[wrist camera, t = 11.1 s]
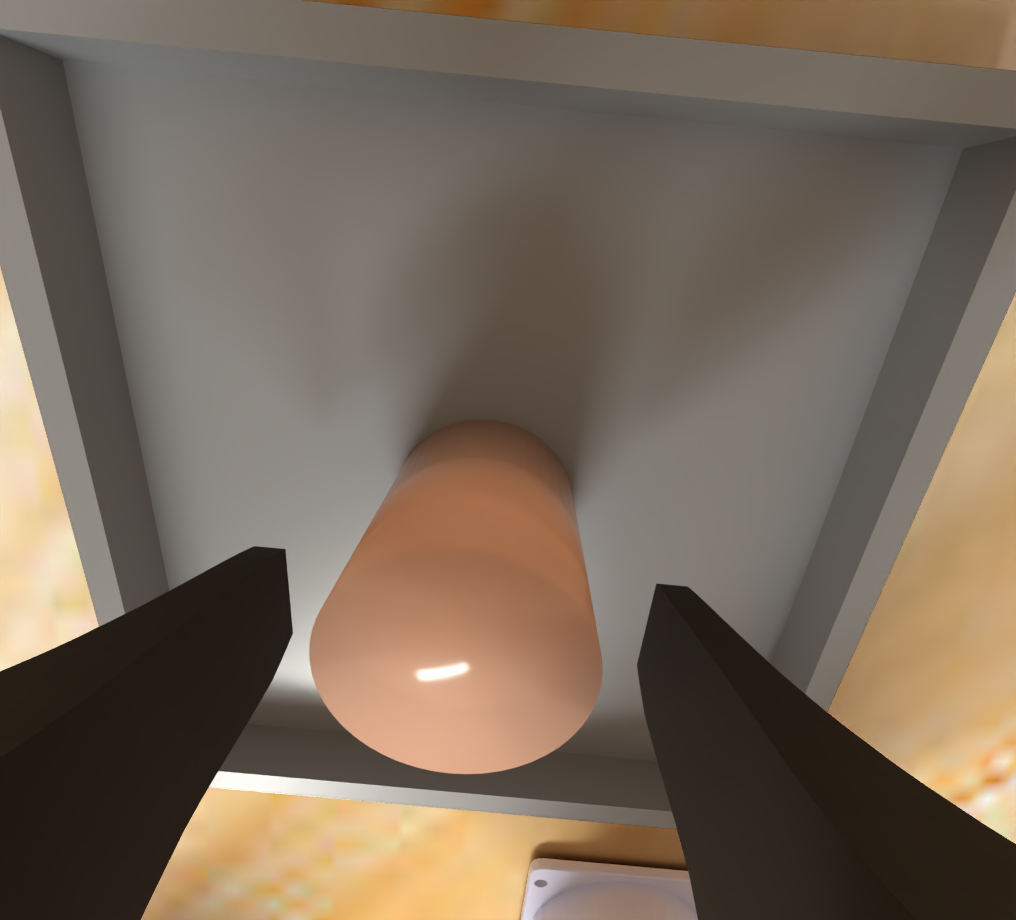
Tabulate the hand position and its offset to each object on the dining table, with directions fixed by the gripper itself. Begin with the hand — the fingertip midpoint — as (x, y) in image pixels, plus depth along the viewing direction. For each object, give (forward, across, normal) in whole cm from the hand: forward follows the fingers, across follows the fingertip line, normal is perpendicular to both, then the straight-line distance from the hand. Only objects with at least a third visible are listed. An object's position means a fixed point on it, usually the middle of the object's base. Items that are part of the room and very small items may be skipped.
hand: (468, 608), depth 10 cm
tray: (+5, 0, 0) cm, 5 cm away
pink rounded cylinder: (+4, 0, 0) cm, 4 cm away
